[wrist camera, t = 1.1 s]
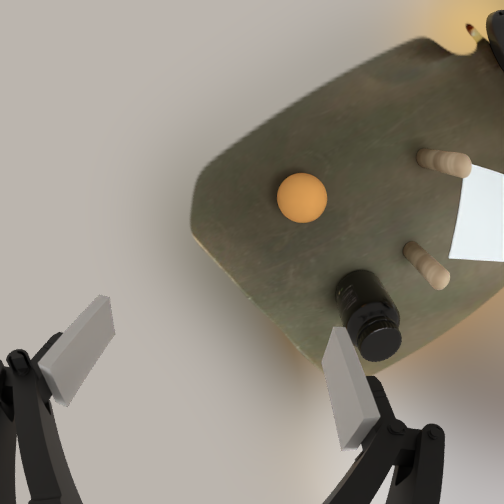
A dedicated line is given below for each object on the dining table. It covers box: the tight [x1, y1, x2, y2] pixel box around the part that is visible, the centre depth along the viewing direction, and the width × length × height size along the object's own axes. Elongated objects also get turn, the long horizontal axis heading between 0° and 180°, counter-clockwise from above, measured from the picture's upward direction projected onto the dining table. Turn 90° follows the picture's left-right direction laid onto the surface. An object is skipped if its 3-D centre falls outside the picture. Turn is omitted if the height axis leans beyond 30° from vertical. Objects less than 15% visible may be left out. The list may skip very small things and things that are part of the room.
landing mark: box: [448, 164, 504, 262], centre depth 30 cm, size 14×14×1 cm
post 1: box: [416, 149, 472, 178], centre depth 25 cm, size 2×2×9 cm
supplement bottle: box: [336, 271, 402, 362], centre depth 31 cm, size 7×7×12 cm
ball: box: [277, 173, 327, 223], centre depth 30 cm, size 6×6×6 cm
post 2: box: [403, 241, 450, 290], centre depth 30 cm, size 2×2×9 cm
